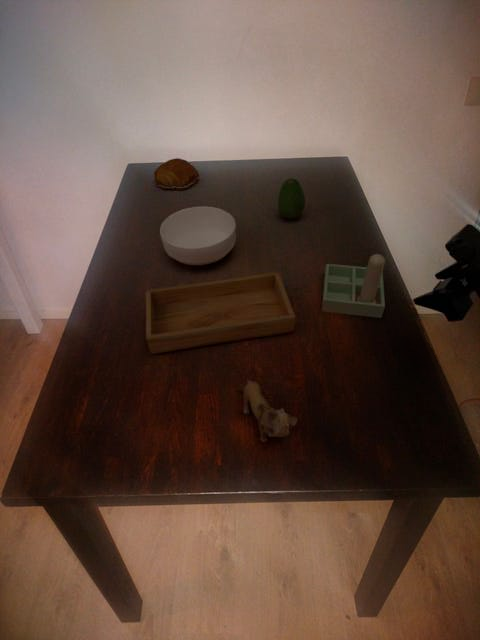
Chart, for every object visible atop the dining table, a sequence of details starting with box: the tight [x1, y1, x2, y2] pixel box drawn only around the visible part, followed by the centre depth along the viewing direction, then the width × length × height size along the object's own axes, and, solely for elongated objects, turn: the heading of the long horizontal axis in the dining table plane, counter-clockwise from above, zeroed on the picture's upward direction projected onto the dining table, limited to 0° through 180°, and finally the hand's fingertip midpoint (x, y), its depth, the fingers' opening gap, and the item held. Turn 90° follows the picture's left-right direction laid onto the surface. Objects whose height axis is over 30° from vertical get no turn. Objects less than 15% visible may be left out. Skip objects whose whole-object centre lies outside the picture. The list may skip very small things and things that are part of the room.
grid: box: [321, 263, 386, 319], centre depth 89 cm, size 13×13×4 cm
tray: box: [145, 271, 296, 355], centre depth 85 cm, size 31×15×6 cm, turn 100°
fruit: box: [277, 177, 306, 220], centre depth 111 cm, size 8×8×12 cm
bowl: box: [159, 205, 237, 266], centre depth 102 cm, size 20×20×8 cm
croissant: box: [153, 157, 200, 192], centre depth 131 cm, size 14×16×8 cm
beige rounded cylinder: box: [357, 253, 386, 303], centre depth 82 cm, size 4×4×13 cm
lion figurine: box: [237, 380, 298, 443], centre depth 66 cm, size 15×5×9 cm, turn 35°
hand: (425, 288), depth 72 cm, fingers open, 9 cm apart
